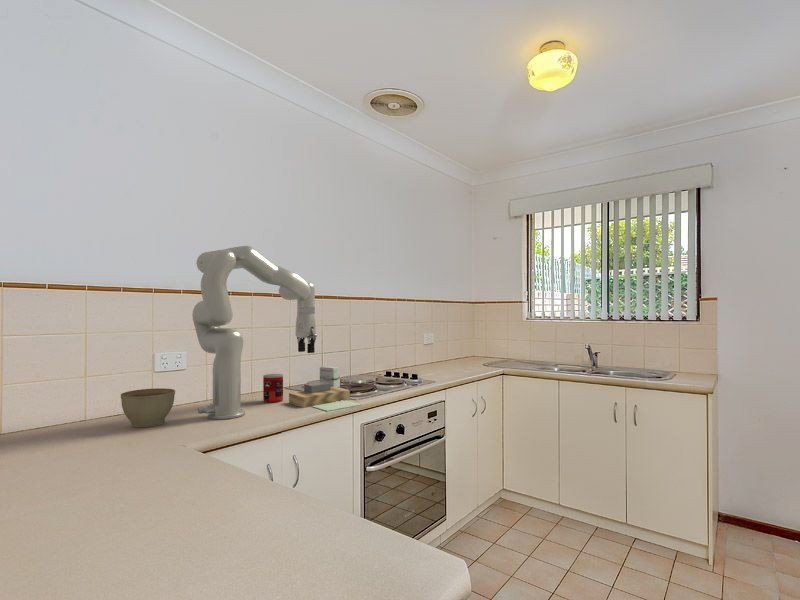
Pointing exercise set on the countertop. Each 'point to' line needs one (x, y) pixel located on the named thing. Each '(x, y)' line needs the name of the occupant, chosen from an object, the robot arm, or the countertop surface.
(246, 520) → the countertop surface
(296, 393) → the oak block
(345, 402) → the sage mat
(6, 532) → the countertop surface
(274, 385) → the canned food
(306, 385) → the gray rectangular block
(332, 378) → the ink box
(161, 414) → the planter bowl
